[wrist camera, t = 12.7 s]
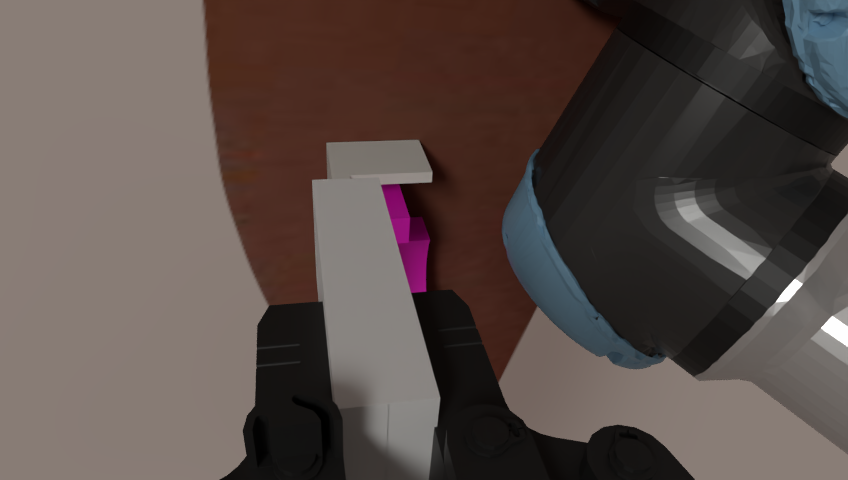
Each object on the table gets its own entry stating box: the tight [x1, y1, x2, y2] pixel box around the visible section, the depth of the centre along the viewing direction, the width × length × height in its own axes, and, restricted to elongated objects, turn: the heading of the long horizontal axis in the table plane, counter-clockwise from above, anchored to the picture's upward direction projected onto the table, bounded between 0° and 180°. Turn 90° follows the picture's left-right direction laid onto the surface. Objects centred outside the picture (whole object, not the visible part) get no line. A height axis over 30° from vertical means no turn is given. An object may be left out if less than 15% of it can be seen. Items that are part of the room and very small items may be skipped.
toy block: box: [381, 184, 430, 293], centre depth 49 cm, size 15×6×8 cm, turn 176°
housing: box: [326, 140, 432, 185], centre depth 47 cm, size 7×18×11 cm, turn 176°
